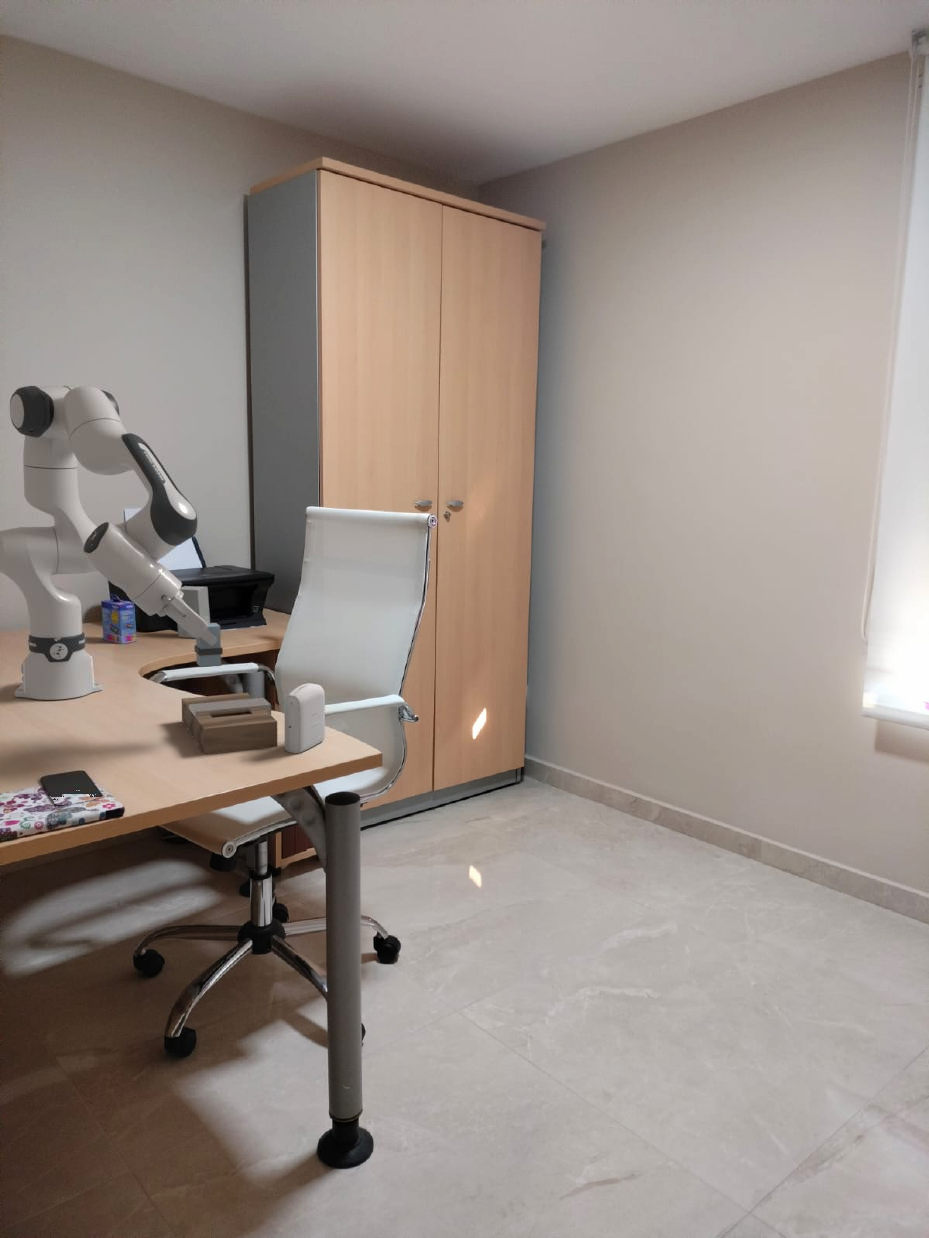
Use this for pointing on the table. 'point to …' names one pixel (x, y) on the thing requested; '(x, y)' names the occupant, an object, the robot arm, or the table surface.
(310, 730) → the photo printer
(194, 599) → the skincare box
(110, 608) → the ink cartridge box
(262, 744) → the brown tissue box
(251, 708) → the white rectangular bar
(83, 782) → the phone
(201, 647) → the blue-gray rectangular block
